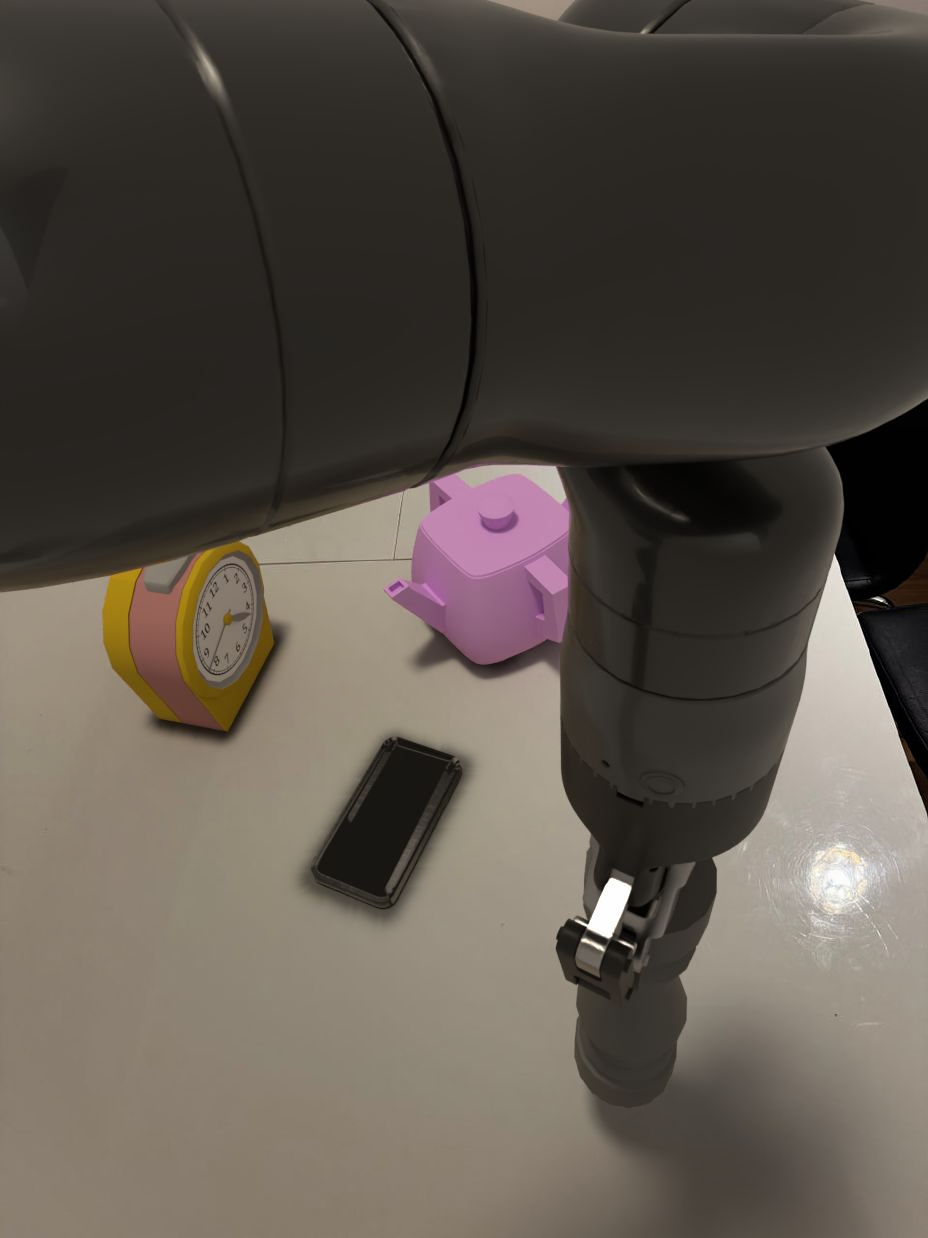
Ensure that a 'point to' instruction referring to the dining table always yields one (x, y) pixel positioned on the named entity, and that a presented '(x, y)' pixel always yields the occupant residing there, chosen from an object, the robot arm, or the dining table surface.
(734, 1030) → the dining table surface
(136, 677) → the alarm clock
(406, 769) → the phone
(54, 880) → the dining table surface
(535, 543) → the teapot
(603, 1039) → the candle holder
